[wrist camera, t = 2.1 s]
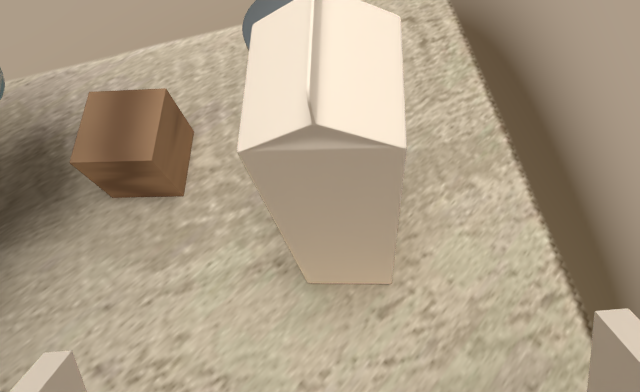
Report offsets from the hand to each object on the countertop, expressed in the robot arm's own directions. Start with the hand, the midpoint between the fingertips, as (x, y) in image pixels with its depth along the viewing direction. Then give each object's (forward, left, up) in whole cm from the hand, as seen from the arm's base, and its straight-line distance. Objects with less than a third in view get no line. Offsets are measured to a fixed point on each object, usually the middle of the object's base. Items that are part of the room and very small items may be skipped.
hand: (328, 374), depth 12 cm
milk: (-3, +10, -20) cm, 23 cm away
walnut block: (-21, +12, -20) cm, 31 cm away
